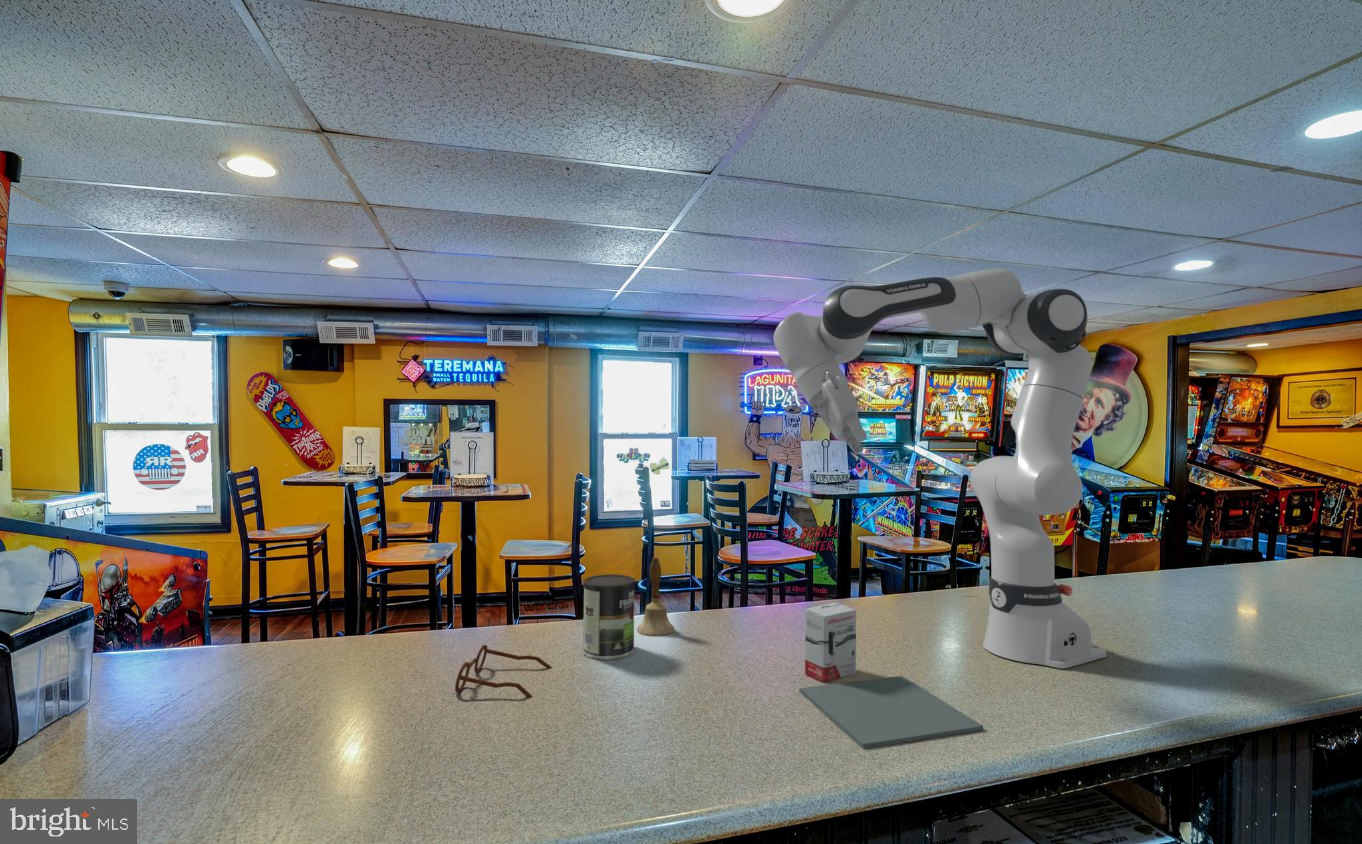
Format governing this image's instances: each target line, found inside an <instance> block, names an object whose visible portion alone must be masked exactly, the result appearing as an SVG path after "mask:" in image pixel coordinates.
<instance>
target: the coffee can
mask: <svg viewBox="0 0 1362 844" xmlns="http://www.w3.org/2000/svg"><path fill="white" fill-rule="evenodd" d="M635 583H636V579H635V577H632V576H629V575H624V574H615V573H614V574H599V575H598V574H597V575H593V576H592V575H591V576H588V577H586V578H584V579H583V581H582V584H583V585H582V586H583V633H582V634H583V643H582V644H583V645H582V646H583V648H582V649H583V650H582V653H583V655H584V656H586V657H587V658H590V659H595V660H603V661H604V660H605V661H612V660H618V659H619V660H620V659H622V658H623V659H624V658H626V657H629V656H631V655H633V653H634V652H635Z"/></svg>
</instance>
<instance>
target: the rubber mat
mask: <svg viewBox="0 0 1362 844" xmlns="http://www.w3.org/2000/svg"><path fill="white" fill-rule="evenodd" d="M800 692H801V693H800ZM799 693H800V694H801V695H802V696H803V697H804V698H806V697H807V698H806V699H807V700H808V699H809V700H810V701H811V704H813V706H815V708H817V707H818V708H819V709H820V710H819V709H818V708H817V709H818V710H819V711H820V712H822V713H823V714H824V716H825V717H827V718H828V717H829V718H828V719H829V720H830V721H831V722H833V723H834V725H836V726H837V727H838V728H840V729H841V730H842V731H843V732H844V733H845V734H846V735H847V736H849V738H851V739H852V741H853V742H855V743H856V744H857V745H859V747H861V748H862V749H870V748H876V747H881V746H889V745H895V744H903V743H909V742H915V741H920V740H927V739H934V738H939V737H941V738H942V737H945V736H946V737H948V736H953V735H959V734H960V735H961V734H967V733H972V732H981V731H984V725H983V724H981V723H980V722H978V721H976V720H974V719H973V718H971V717H969V716H968V715H966V714H964V712H962V711H960V710H958V709H957V708H956V707H954V706H952V705H950V704H949V703H948V702H946V701H944V700H942V699H941V698H939V697H937V696H936V695H934V694H932V693H931V692H929V691H927V690H926V689H924V688H923V687H921V686H920V685H918V684H916V683H915V682H913V681H911V680H909V678H907V677H905V676H903V675H899V676H889V677H881V678H873V679H864V680H857V681H855V680H854V681H849V682H848V681H847V682H840V683H833V684H832V683H830V684H823V685H816V686H815V685H814V686H813V685H812V686H807V687H799ZM809 700H808V701H809ZM810 701H809V702H810Z"/></svg>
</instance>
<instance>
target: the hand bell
mask: <svg viewBox="0 0 1362 844" xmlns="http://www.w3.org/2000/svg"><path fill="white" fill-rule="evenodd" d="M661 567H662V566H661V565H660V559H659V557H652V558H651V562H650V565H649V579H650V583H651V589H652V590H651V602H650V603H648V604H646V606H645V611H644V617H643V620H642V621H641V622H640V624H639V625H638V626H637V627H636V631H637V633H638V634H640V635H642V636H648V637H663V636H667V635H670V634H672V633H673V632H675V627H674V625H673V624H671V622H670V620H669V618H668V614H667V607H666V605H665V604H664V603H662V602H661V600H660V583H661V580H662V579H661V578H662V568H661Z"/></svg>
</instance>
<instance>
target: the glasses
mask: <svg viewBox="0 0 1362 844" xmlns="http://www.w3.org/2000/svg"><path fill="white" fill-rule="evenodd" d="M482 653H483V657H482V659H481V663H480V664H479V662H480V661H479V660H480V657H481V656H482ZM487 654H490V655H495V656H499V657H504V658H509V659H513V660H516V661H520V660H522V661H523V660H532V661H537V662H538V663H539V664H540V665H542V666H543V667H544V668H546V669H551V668H552V665H550V664H548V663H547V662H546V661H544V660H543V659H542V658H541V657H539V656H537V655H536V656H534V655H517V654H513V653H508V652H503V651H499V650H495V649H489V648H488V645H486V644H482V645H481V647H480V649H479V651H478V653H477V655H476V657H474V658H473V659H472V660H471V661H470V662H468V661H465V663H463V665H462V666H461V667H460V670H459V672H458V675H457V677H456V682H455V685H454V686H455V688H454V691H455V693H461V692H462V690H463V689H464V688H463V687H465V685H466V683H467V682H468V683H471V684H472V683H473V684H476V685H477V684H478V685H482V686H486V687H490V688H495V689H498V688H504V687H509V688H510V687H512V688H516V689H517V690H519V692H521V694H523V695H524V696H525V697H526V698H533V695H532V694H531V693H530V692H529V691H528V690H526V688H525V687H523V685H521V684H520V683H519V682H518V683H517V682H512V681H511V682H510V681H505V682H498V683H496V682H491V681H487V680H484V679H479V678H474V677H469V674H470V669H471V668H472V667H473V666H474V673H479V672H480V671H481V670H482V668H483V666H484V664H485V661H486V658H487ZM465 669H466V671H465V674H464V675H462V674H463V673H464V670H465ZM460 681H461V682H462V683H461V685H460ZM461 689H462V690H461Z"/></svg>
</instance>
